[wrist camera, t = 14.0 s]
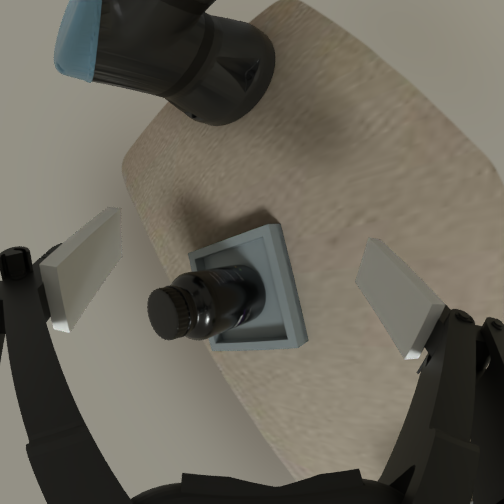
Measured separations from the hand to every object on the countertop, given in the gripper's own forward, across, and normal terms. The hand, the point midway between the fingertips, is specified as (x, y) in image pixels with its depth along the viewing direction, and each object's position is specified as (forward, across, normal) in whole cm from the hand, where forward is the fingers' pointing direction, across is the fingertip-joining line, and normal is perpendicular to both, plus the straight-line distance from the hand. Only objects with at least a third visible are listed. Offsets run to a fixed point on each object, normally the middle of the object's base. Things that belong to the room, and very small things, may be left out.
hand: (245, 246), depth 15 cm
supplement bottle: (+16, +2, -13) cm, 21 cm away
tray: (+17, +3, -13) cm, 21 cm away
